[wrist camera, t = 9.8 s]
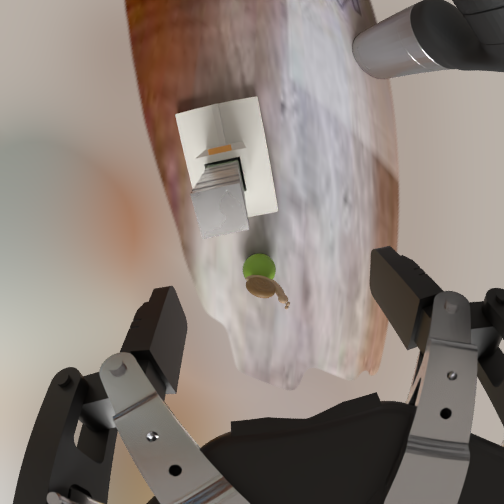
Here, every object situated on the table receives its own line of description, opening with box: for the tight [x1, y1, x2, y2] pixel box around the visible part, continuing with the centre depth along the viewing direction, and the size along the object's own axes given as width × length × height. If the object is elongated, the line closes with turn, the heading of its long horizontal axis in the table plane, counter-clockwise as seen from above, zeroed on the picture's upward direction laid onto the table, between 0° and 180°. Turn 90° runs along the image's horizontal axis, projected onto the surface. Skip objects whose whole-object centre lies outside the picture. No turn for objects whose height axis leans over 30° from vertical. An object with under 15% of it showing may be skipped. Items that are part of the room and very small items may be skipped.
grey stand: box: [175, 96, 278, 217], centre depth 35 cm, size 18×12×14 cm, turn 11°
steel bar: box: [191, 157, 249, 239], centre depth 26 cm, size 3×3×17 cm
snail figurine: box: [243, 254, 290, 309], centre depth 44 cm, size 5×6×12 cm
